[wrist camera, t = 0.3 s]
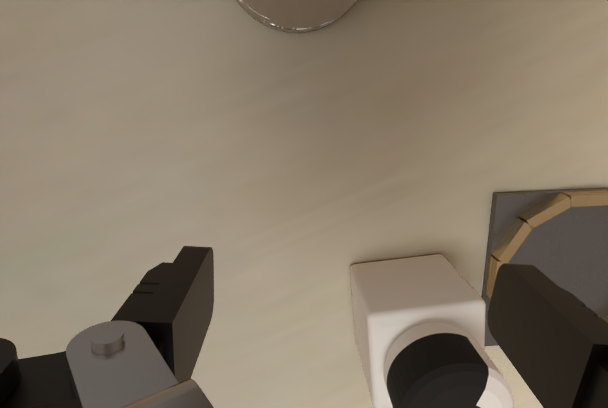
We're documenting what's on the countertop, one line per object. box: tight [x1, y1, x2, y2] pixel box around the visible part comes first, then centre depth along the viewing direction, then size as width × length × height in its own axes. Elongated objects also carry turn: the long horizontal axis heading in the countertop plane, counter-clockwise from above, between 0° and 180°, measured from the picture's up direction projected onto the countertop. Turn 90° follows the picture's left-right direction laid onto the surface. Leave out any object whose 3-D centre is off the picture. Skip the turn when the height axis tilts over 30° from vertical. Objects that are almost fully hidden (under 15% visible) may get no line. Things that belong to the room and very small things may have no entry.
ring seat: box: [482, 188, 608, 346], centre depth 31 cm, size 13×13×2 cm
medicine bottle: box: [350, 254, 514, 408], centre depth 26 cm, size 7×7×12 cm
